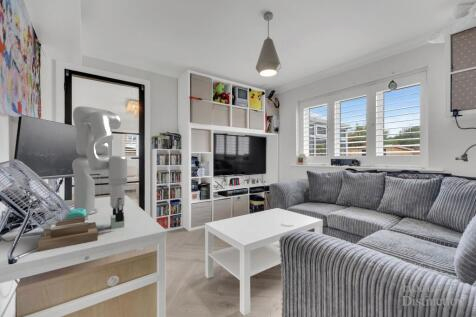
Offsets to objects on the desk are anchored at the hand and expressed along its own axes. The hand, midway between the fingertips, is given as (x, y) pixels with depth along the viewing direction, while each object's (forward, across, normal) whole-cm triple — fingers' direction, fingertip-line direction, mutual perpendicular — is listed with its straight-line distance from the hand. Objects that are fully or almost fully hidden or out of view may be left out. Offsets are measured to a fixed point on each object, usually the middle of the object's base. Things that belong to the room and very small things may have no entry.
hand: (118, 219), depth 99 cm
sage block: (+4, 0, 0) cm, 4 cm away
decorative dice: (+4, -8, -16) cm, 19 cm away
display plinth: (+4, +6, -17) cm, 18 cm away
